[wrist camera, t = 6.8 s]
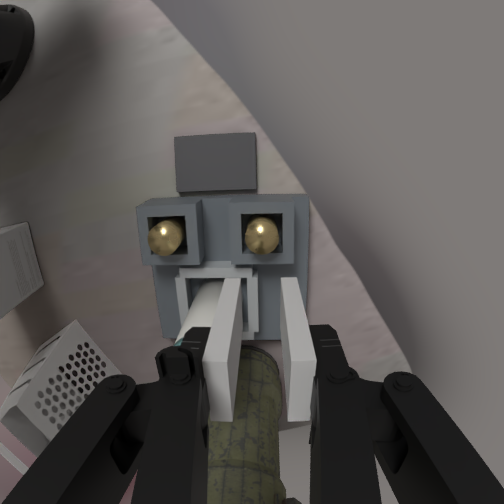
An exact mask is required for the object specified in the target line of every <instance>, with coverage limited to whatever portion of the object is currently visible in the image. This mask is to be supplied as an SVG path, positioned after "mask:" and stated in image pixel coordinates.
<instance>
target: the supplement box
mask: <svg viewBox="0 0 504 504" xmlns="http://www.w3.org/2000/svg"><path fill="white" fill-rule="evenodd" d="M43 285H44V282H43V279H42V275H41V272H40V269H39V265H38V261H37V258H36V254H35V250H34V246H33V242H32V238H31V234H30V230H29V225H28V222H24V223H20V224H15V225H11V226H7V227H3V228H0V319H1V318H3V317H4V316H5V315H6V314H7V313H9V312H10V311H11V310H12V309H14V308H15V307H16V306H17V305H19V304H20V303H21V302H22V301H24V300H25V299H26V298H27V297H29V296H30V295H31V294H33V293H34V292H35V291H37V290H38V289H39V288H41V287H42V286H43Z"/></svg>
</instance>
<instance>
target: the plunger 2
mask: <svg viewBox="0 0 504 504" xmlns="http://www.w3.org/2000/svg"><path fill="white" fill-rule="evenodd" d="M245 242H246V245H247V247H248V248H249V249H250V250H251V251H252V252H254V253H256V254H260V255H264V254H268V253H270V252H272V251H273V250H274V249H275V248H276V247H277V245H278V242H279V234H278V229H277V224H276V221H275V219H274V218H273V217H272V216H271V215H269V214H267V213H265V214H255V215H253V216H252V217H251V218H250V220H249V221H248V225H247V230H246V235H245Z"/></svg>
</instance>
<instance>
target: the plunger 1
mask: <svg viewBox="0 0 504 504" xmlns="http://www.w3.org/2000/svg"><path fill="white" fill-rule="evenodd" d="M186 237H187V234H186V221H185V220H184V219H183V218H181V217H180V216H168V217H166V218H165V219H164V220H162V221H161V222H160V223H158V224H157V225H156V226H154V227H153V228H152V229H151V230H150V232H149V234H148V244H149V247H150V248H151V250H152V251H153V252H154V253H156V254H158V255H161V256H168V255H170V254H172V253H173V252H174V251H175V250H176V249H177V248H178V247H179V245H180V244H181V243H182V242H183V241H184V239H185V238H186Z"/></svg>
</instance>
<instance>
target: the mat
mask: <svg viewBox="0 0 504 504" xmlns="http://www.w3.org/2000/svg"><path fill="white" fill-rule="evenodd" d="M174 147H175V168H176V186H177V192H187V191H210V190H240V189H256V148H255V133H228V134H209V135H194V136H182V137H174Z"/></svg>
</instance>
